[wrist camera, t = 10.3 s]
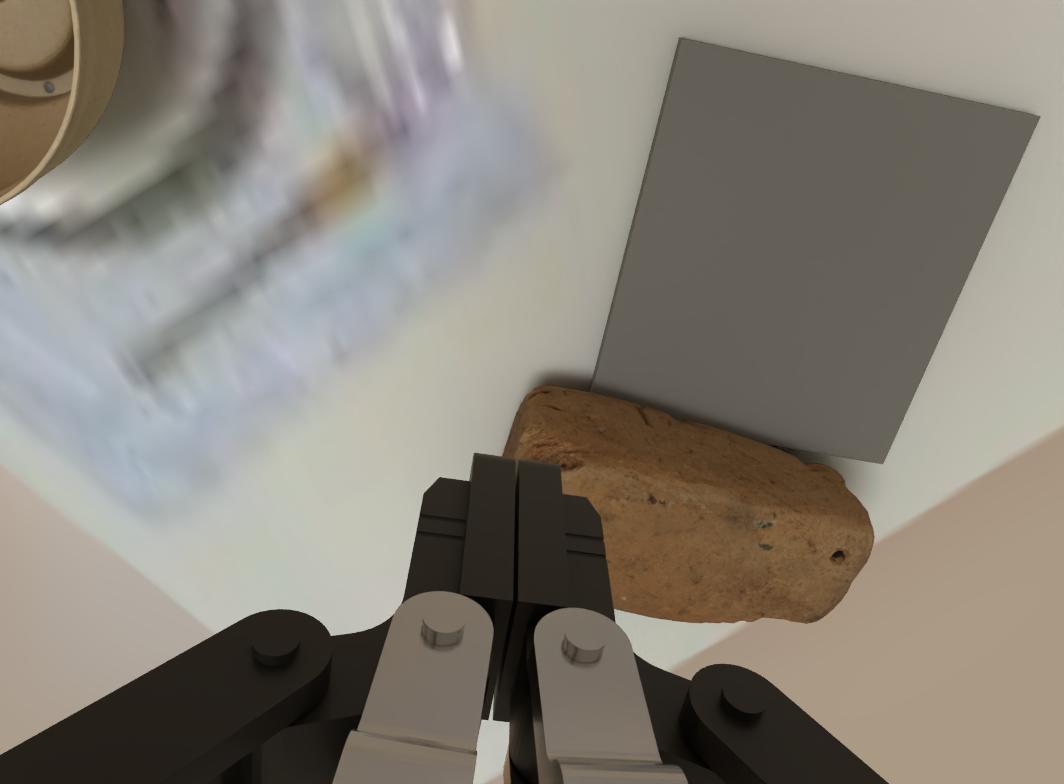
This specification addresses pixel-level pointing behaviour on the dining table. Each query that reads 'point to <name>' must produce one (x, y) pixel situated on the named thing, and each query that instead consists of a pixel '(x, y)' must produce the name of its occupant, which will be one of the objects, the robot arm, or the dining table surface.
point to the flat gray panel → (800, 248)
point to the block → (698, 511)
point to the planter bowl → (53, 81)
